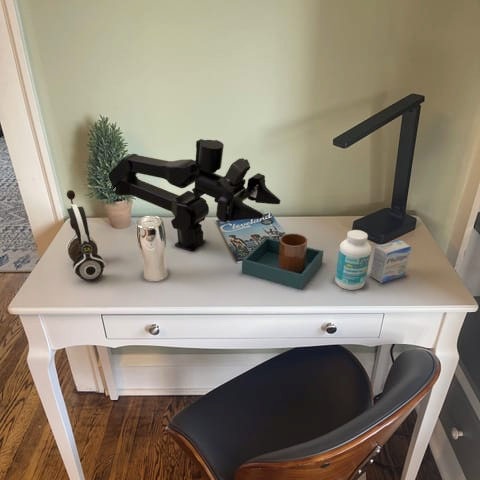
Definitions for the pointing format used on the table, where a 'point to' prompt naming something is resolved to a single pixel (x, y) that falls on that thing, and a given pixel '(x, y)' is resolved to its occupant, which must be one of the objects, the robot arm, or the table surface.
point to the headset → (83, 245)
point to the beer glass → (152, 246)
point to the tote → (267, 259)
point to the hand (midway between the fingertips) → (271, 209)
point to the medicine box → (390, 261)
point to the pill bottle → (353, 260)
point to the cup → (292, 252)
